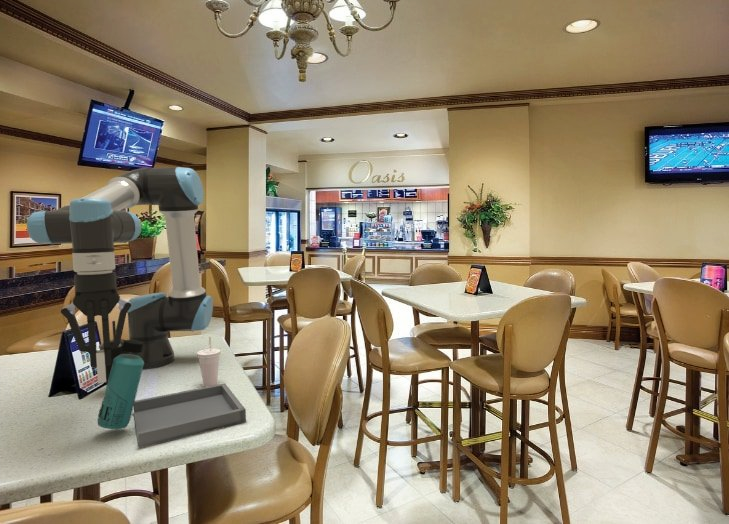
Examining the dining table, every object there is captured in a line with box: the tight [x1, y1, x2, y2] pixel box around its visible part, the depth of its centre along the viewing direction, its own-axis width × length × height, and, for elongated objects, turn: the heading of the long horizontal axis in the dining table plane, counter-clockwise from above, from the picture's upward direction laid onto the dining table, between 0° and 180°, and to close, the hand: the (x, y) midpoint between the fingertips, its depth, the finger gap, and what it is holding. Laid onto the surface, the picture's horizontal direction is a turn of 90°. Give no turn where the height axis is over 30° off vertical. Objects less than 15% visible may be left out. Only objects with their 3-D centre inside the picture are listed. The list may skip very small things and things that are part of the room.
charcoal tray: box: [133, 382, 247, 449], centre depth 102 cm, size 20×22×3 cm
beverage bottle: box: [97, 339, 144, 430], centre depth 94 cm, size 6×7×20 cm
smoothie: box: [196, 336, 221, 387], centre depth 123 cm, size 6×6×14 cm
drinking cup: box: [98, 320, 130, 386], centre depth 118 cm, size 8×8×20 cm
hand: (102, 380), depth 92 cm, fingers closed
